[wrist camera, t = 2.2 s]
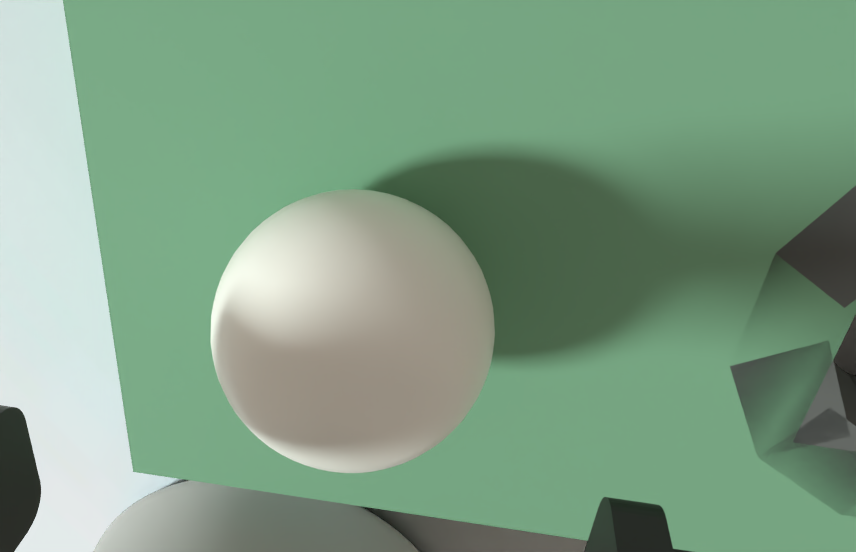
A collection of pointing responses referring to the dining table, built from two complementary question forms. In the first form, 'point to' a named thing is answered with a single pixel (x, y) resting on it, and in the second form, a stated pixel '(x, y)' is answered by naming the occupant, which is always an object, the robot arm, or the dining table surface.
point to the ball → (352, 331)
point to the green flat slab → (512, 240)
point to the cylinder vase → (245, 523)
